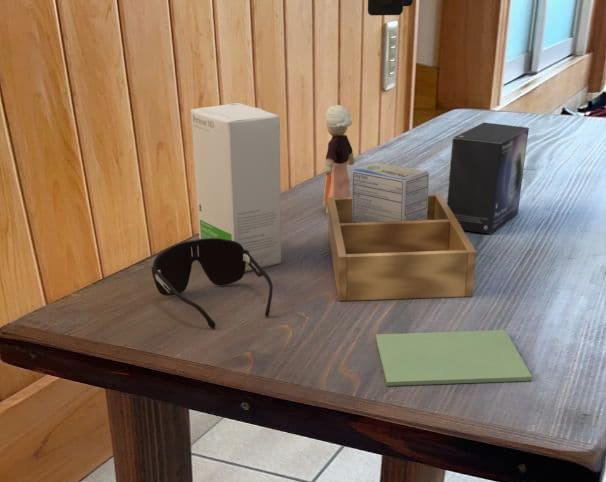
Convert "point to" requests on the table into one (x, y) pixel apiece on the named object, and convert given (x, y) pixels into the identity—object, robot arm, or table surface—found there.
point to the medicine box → (389, 193)
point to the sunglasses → (204, 267)
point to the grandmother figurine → (337, 154)
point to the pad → (450, 358)
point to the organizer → (400, 255)
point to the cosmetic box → (239, 178)
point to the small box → (486, 175)
